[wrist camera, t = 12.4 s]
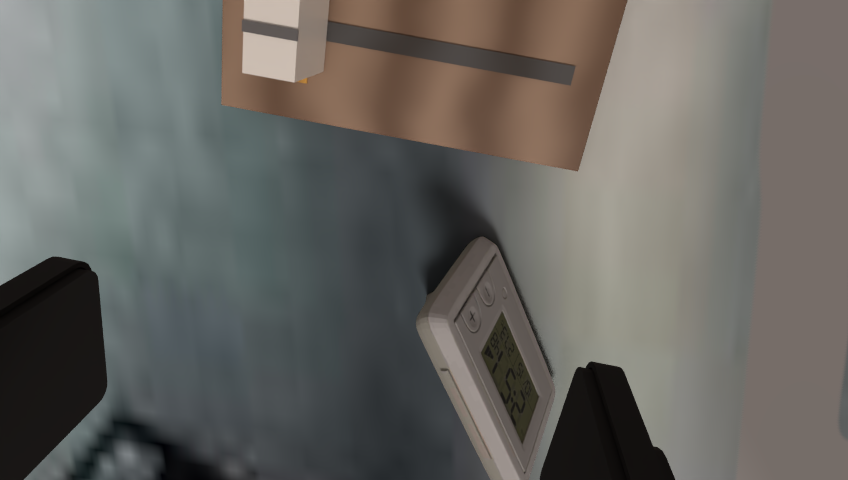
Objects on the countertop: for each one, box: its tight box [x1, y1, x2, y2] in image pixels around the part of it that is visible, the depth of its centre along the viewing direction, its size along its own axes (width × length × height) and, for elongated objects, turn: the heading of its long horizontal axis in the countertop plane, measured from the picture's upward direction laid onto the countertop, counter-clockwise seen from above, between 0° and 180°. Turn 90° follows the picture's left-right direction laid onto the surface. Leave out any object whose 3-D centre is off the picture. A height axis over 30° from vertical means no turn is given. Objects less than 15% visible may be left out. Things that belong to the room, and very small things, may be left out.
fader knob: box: [242, 0, 330, 83], centre depth 32 cm, size 3×5×6 cm, turn 171°
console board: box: [222, 0, 627, 171], centre depth 36 cm, size 25×12×2 cm, turn 81°
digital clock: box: [416, 237, 555, 480], centre depth 40 cm, size 16×9×11 cm, turn 12°
